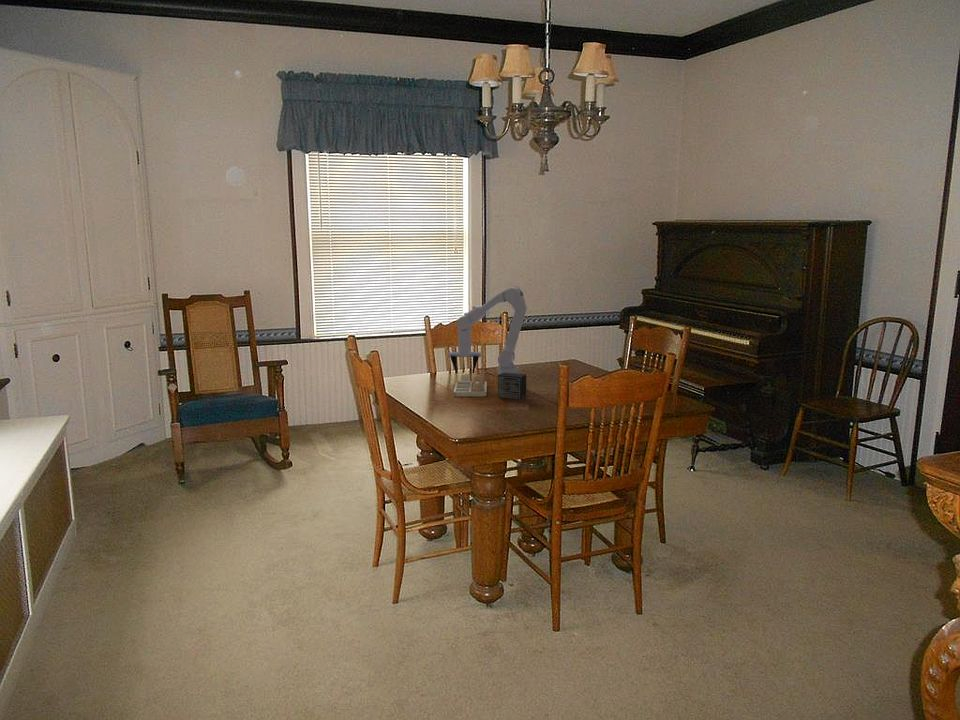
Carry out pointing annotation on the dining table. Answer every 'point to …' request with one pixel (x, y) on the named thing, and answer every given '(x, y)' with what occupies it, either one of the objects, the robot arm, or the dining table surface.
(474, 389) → the tan egg
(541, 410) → the dining table surface
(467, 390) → the grey divided tray
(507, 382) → the small box
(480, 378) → the tan egg
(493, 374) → the dining table surface
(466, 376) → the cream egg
